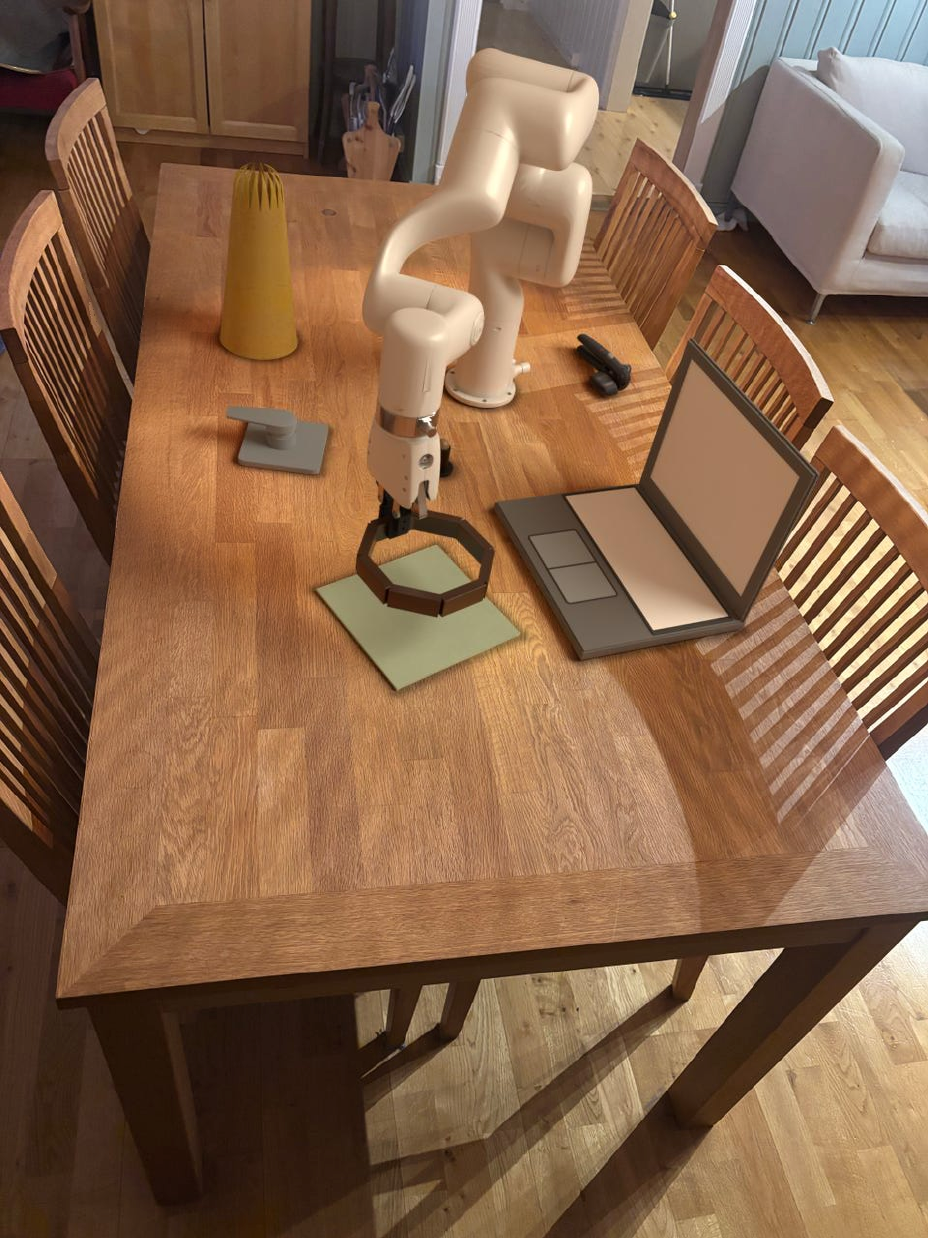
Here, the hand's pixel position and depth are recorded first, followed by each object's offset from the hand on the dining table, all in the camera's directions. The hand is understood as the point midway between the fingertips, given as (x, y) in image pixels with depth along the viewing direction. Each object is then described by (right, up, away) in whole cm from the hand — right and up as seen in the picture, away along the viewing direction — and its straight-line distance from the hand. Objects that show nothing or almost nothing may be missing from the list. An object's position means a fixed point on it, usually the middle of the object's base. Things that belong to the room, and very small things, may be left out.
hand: (392, 529), depth 128 cm
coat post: (+6, +12, +26) cm, 29 cm away
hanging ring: (+4, -5, -4) cm, 8 cm away
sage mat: (+3, -11, +3) cm, 12 cm away
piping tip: (-27, +38, +44) cm, 64 cm away
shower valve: (-20, +15, +24) cm, 35 cm away
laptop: (+32, -4, +15) cm, 35 cm away
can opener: (+34, +34, +53) cm, 72 cm away
